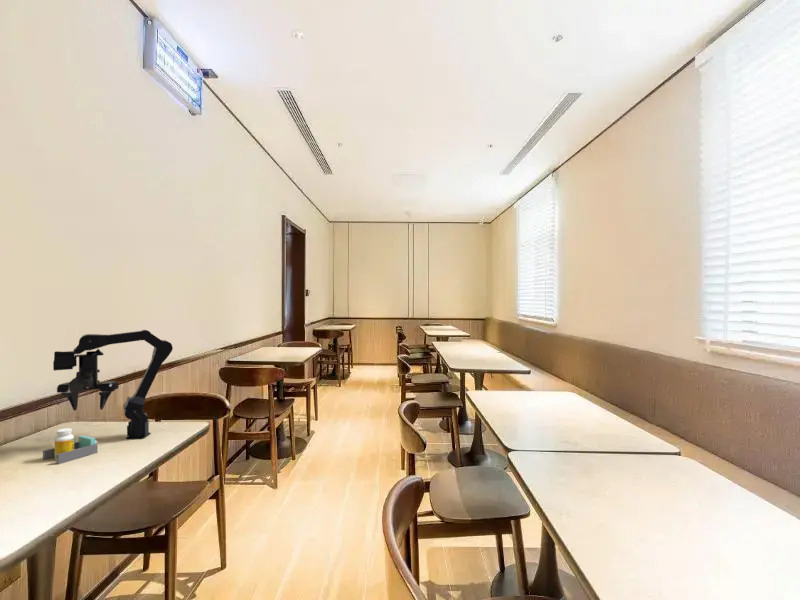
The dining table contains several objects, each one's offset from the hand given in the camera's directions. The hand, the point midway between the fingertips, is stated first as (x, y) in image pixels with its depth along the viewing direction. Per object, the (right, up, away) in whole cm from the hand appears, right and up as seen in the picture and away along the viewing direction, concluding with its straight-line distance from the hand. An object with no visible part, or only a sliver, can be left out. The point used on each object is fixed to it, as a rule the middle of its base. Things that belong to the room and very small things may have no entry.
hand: (88, 409), depth 164 cm
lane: (+3, -13, -11) cm, 17 cm away
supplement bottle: (+1, -13, -14) cm, 19 cm away
